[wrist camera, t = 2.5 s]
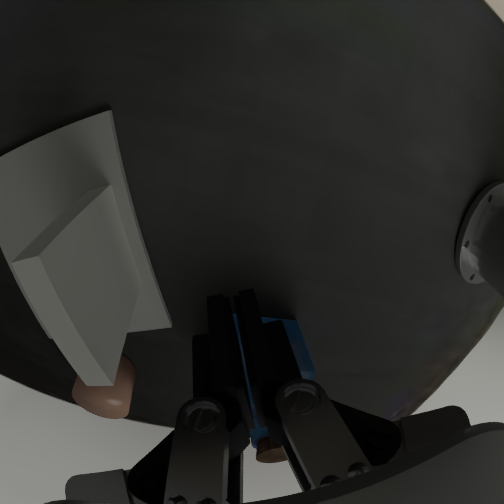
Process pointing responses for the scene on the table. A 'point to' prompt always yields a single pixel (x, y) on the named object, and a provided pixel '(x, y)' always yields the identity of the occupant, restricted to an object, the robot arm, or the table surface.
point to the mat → (73, 200)
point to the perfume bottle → (259, 436)
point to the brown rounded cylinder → (108, 393)
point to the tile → (84, 284)
